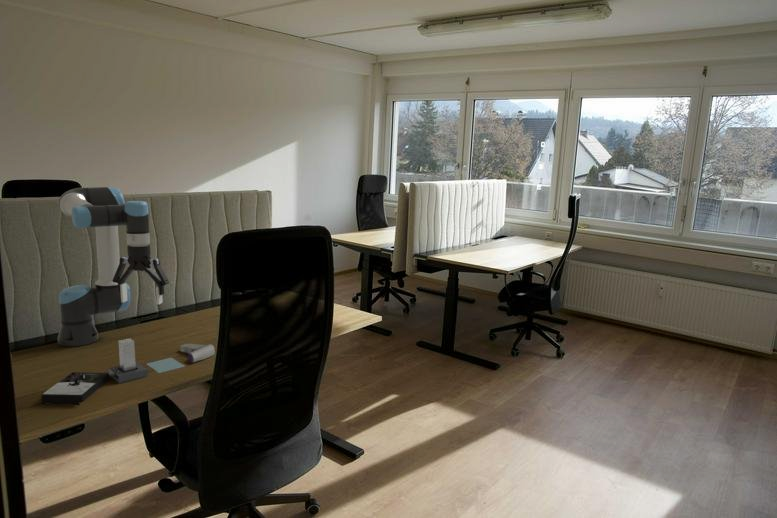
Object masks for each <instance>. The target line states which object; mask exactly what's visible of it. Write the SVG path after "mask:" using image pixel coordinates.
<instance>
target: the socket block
mask: <svg viewBox="0 0 777 518" xmlns="http://www.w3.org/2000/svg"><path fill="white" fill-rule="evenodd" d="M135 362H136V370H133V371H129V372H125V373H122V372H121V371H120V365H116V366H111V367H109V368H108V373H109V376H110V377H111V378H112V379H113V380H114V381H116V382H117V383H118V384H122V383H126V382H130V381H134V380H137V379H138V380H139V379H142V378H146V377H148V376H149V371H148V369H149V368H146V367H145V366H144V365H142V363H139V362H138V361H135Z"/></svg>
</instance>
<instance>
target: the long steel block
mask: <svg viewBox="0 0 777 518" xmlns="http://www.w3.org/2000/svg"><path fill="white" fill-rule="evenodd" d="M117 342H118V353H119V366H120V371H121V372H122V373H125V372H129V371H133V370H136V362H137V361H136V347H135V340H134V339H132V338H126V339H125V338H124V339H121V340H118V341H117Z"/></svg>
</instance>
